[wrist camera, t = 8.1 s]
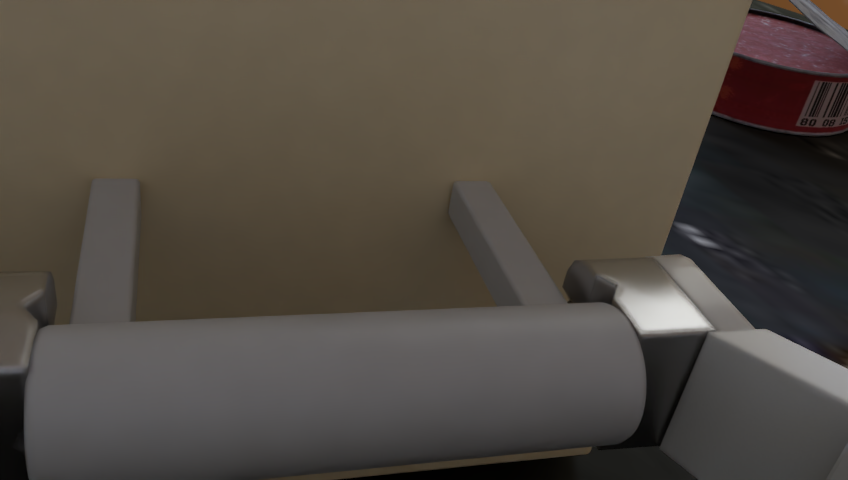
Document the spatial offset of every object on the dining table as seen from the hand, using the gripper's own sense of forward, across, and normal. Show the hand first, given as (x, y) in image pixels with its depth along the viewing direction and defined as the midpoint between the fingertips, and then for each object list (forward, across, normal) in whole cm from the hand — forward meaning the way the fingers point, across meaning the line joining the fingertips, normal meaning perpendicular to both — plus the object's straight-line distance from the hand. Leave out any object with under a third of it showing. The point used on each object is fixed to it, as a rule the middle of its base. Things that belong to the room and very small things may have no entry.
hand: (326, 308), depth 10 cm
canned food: (+25, -26, +7) cm, 37 cm away
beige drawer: (+7, 0, +6) cm, 10 cm away
